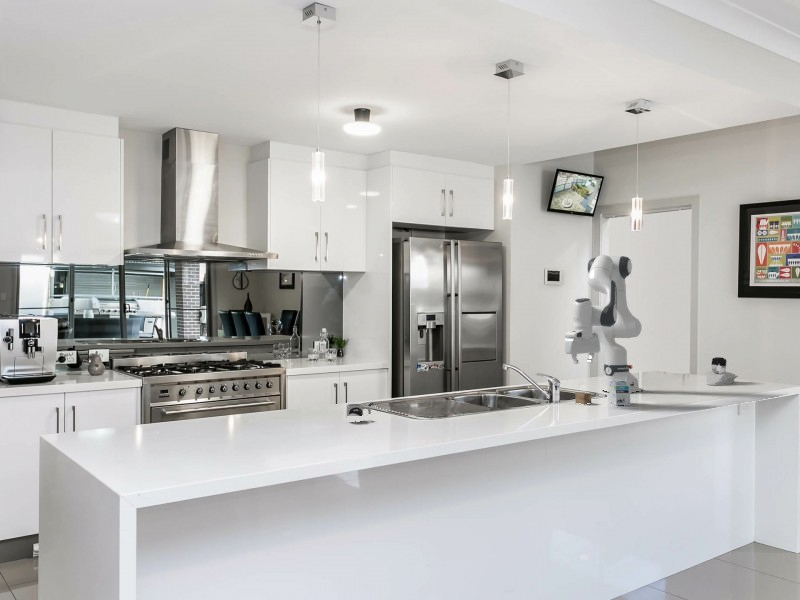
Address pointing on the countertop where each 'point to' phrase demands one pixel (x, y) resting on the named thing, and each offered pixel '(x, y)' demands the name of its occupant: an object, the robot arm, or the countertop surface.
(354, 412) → the mug
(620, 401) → the light bulb box
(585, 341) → the robot arm
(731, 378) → the iron
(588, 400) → the walnut cube
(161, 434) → the countertop surface
